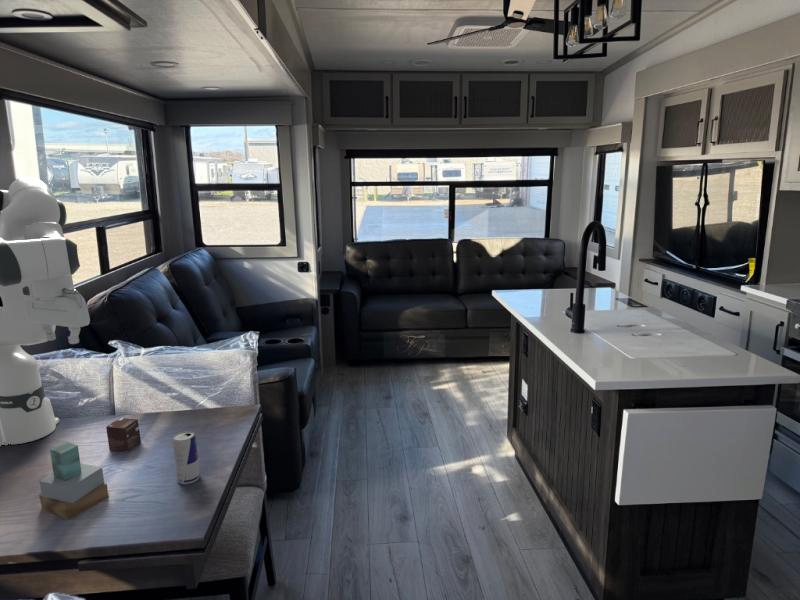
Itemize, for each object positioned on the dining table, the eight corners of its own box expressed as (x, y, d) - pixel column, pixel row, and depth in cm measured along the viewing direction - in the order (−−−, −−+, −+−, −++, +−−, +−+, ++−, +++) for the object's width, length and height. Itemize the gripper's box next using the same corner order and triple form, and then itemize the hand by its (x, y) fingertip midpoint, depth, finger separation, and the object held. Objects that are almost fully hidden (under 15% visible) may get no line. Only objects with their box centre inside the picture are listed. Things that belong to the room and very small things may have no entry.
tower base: (42, 510, 131) (39, 494, 130) (82, 488, 140) (80, 474, 139) (68, 521, 127) (65, 505, 126) (108, 498, 135) (106, 483, 134)
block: (53, 476, 130) (49, 449, 128) (70, 468, 134) (66, 441, 132) (65, 481, 128) (61, 453, 127) (81, 472, 132) (77, 445, 130)
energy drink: (204, 477, 143) (199, 433, 141) (187, 487, 139) (182, 442, 136) (190, 471, 146) (185, 429, 143) (172, 481, 142) (167, 437, 139)
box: (127, 452, 157) (124, 428, 155) (108, 451, 158) (105, 426, 156) (141, 442, 162) (138, 418, 161) (123, 440, 164) (119, 417, 162)
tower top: (42, 496, 130) (39, 481, 129) (75, 476, 138) (73, 461, 137) (72, 503, 127) (69, 487, 126) (104, 482, 135) (102, 467, 134)
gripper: (91, 287, 138) (100, 341, 141) (41, 284, 147) (50, 335, 150) (66, 292, 132) (76, 348, 135) (16, 288, 142) (26, 341, 144)
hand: (62, 341), depth 143 cm, fingers open, 8 cm apart
